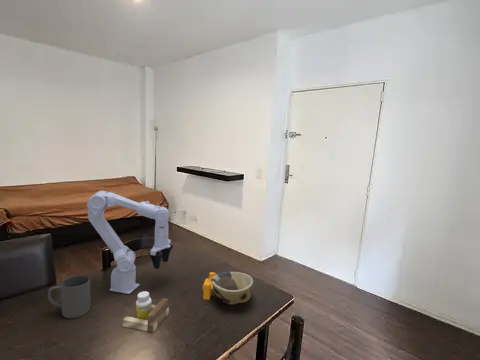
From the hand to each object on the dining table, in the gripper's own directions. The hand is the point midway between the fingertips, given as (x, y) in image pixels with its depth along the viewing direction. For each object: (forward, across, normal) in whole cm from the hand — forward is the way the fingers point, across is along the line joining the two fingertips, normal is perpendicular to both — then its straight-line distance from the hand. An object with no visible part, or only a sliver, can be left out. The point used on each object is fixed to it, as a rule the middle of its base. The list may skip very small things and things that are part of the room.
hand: (161, 264), depth 121 cm
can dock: (+10, -22, -7) cm, 25 cm away
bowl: (+11, 0, -33) cm, 34 cm away
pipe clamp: (+11, +3, -21) cm, 24 cm away
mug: (+10, -27, +22) cm, 36 cm away
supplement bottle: (+10, -22, -6) cm, 25 cm away
